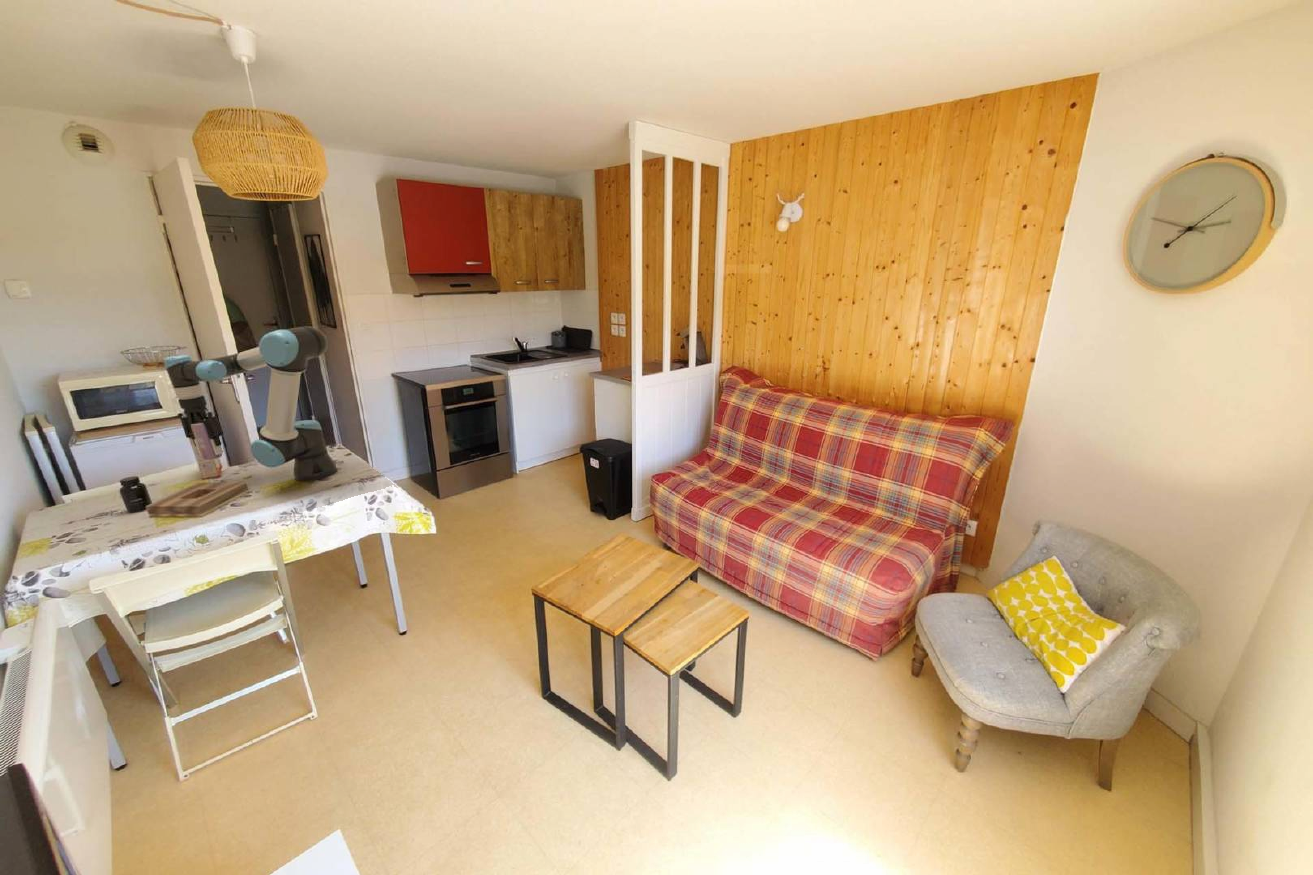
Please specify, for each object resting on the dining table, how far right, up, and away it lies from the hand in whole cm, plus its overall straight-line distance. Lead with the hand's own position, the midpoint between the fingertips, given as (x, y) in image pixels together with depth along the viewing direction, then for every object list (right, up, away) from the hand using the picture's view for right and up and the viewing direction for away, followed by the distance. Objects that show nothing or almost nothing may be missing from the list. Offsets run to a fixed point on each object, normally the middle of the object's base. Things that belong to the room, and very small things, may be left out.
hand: (211, 453), depth 197 cm
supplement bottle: (-14, -20, -13) cm, 28 cm away
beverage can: (0, -2, +1) cm, 2 cm away
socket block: (+6, -18, -11) cm, 22 cm away
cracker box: (-15, -9, +18) cm, 25 cm away
